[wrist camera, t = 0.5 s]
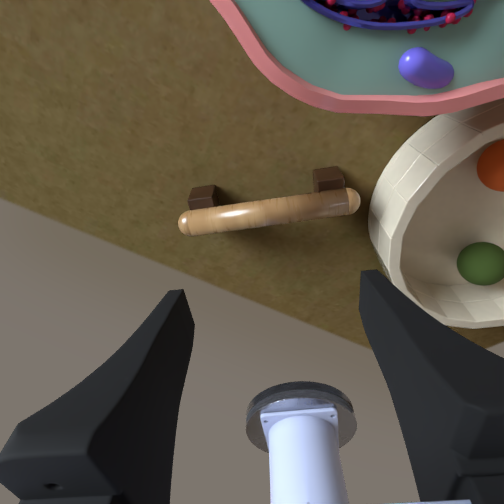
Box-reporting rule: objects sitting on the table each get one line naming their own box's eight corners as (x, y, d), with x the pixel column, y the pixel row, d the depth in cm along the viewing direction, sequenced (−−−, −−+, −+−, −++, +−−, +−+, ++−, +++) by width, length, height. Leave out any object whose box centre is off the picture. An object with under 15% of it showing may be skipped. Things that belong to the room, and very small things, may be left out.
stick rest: (337, 165, 21) (344, 177, 20) (338, 199, 23) (345, 213, 21) (192, 187, 22) (186, 200, 21) (200, 219, 24) (196, 233, 22)
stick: (356, 181, 20) (364, 192, 19) (356, 205, 21) (363, 218, 20) (177, 207, 21) (172, 219, 20) (184, 229, 22) (179, 242, 21)
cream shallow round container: (554, 274, 26) (604, 315, 22) (365, 296, 27) (383, 338, 24) (641, 66, 18) (740, 75, 15) (371, 110, 20) (398, 130, 16)
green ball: (487, 265, 25) (513, 291, 22) (445, 270, 25) (466, 297, 23) (497, 230, 23) (526, 255, 21) (452, 236, 24) (475, 261, 21)
